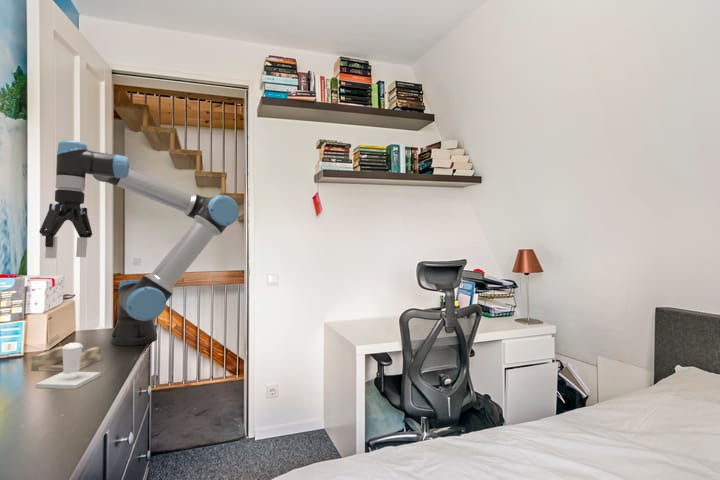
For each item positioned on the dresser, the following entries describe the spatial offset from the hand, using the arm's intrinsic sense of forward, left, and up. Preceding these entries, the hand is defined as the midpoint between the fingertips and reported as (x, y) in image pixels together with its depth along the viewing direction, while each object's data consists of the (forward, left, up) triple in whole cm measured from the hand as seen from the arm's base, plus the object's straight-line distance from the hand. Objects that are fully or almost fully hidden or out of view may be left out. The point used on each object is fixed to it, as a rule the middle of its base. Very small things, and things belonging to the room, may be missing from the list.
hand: (66, 257), depth 125 cm
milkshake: (+20, +16, -31) cm, 40 cm away
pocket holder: (+6, +6, -32) cm, 33 cm away
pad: (+20, +16, -32) cm, 41 cm away
